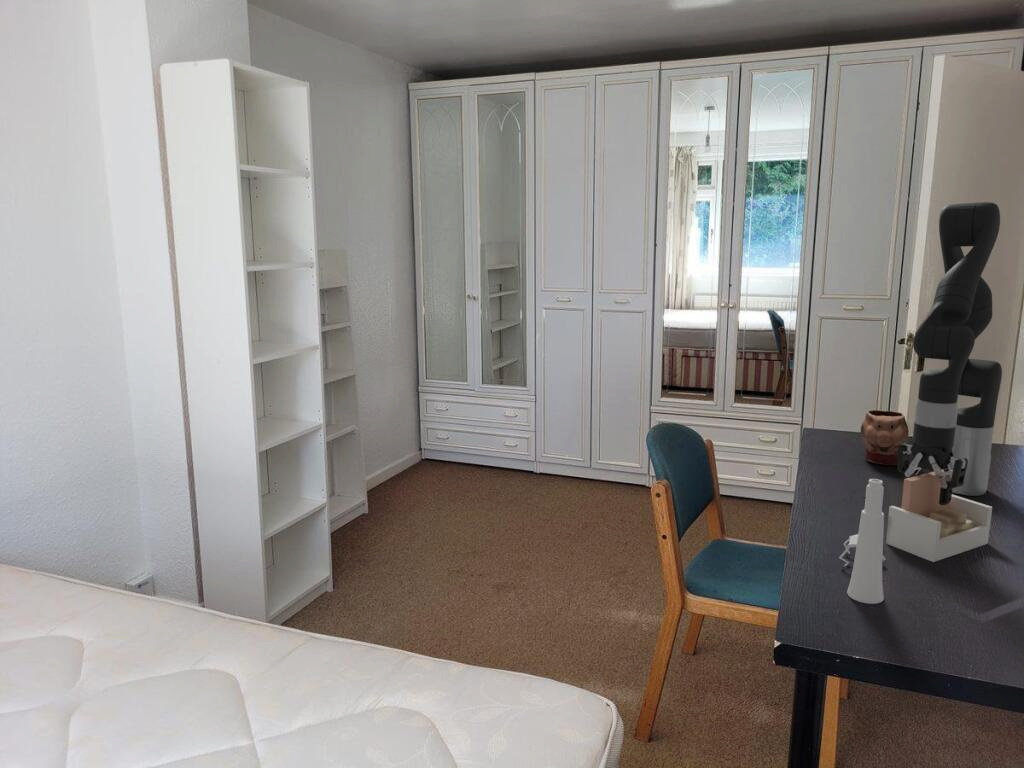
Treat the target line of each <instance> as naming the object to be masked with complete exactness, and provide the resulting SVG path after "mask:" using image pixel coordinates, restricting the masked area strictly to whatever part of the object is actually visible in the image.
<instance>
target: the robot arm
mask: <svg viewBox="0 0 1024 768" xmlns="http://www.w3.org/2000/svg"><path fill="white" fill-rule="evenodd" d="M938 218H939V219H938V234H939V240H940V242H939V243H940V247H941V255H942V262H943V269H944V275H943V277H942V278H941V279H940V280H939V283H938V284H937V287H936V290H935V295H934V299H933V303H932V306H931V308H930V310H929V312H928V314H927V315H926V317H925V318H924V319H923V321H922V322H921V324H920V325H919V327H917V330H916V331H915V333H914V337H913V340H912V341H913V342H912V347H913V350H914V352H915V354H916V355H917V356H919V357H920V358H924V359H929V360H930V359H931V360H944V361H948V362H947V363H948V366H947V367H945V368H940V369H928V370H925V371H923V372H922V373H921V375H920V377H919V384H918V385H919V386H918V395H917V401H916V402H917V403H916V405H915V413H914V420H913V430H912V431H913V432H912V442H913V443H912V444H910V443H908V442H905V443H904V444H900V445H898V461H897V465H896V466H897V467H896V469H897V471H898V472H899V473H902V474H904V476H905V479H906V478H910V477H914V476H918V474H919V472H920V471H921V470H922V469H923V470H928V471H930V472H935V475H936V477H937V478H939V481H940V483H941V486H942V487H941V488H940V497H939V504H940V505H947V504H948V503H949V502H950V501H951V497H952V495H953V494H958V495H965V496H971V497H972V496H973V497H974V496H976V497H977V496H982V495H985V494H986V491H987V490H988V485H989V476H990V470H991V469H990V468H991V460H992V453H991V451H992V444H993V436H994V426H995V421H996V420H995V418H996V414H997V413H996V412H997V406H998V399H999V394H1000V393H999V392H1000V389H1001V383H1002V378H1003V369H1002V365H1001V363H1000V362H998V361H995V360H986V359H978V358H970V356H971V354H972V352H973V349H974V347H975V343H976V339H977V338H979V336H980V335H981V334H982V333H983V332H984V331H985V330H986V328H987V327H988V326H989V325H990V323H991V321H992V319H993V293H992V290H991V287H990V286H989V283H987V281H985V279H984V278H983V277H982V275H983V272H984V270H985V268H986V266H987V264H988V261H989V259H990V257H991V254H992V251H993V249H994V247H995V244H996V243H997V242H996V241H997V239H998V235H999V232H1000V225H1001V212H1000V208H999V205H998V204H996V203H995V202H990V201H989V202H988V201H981V202H965V203H952V204H947V205H945V206H944V207H943V208H942V209H941V211H940V213H939V217H938ZM962 247H972V248H971V249H970V250H969V252H967V254H964V252H963V249H962ZM959 396H966V397H971V398H978V399H979V398H980V401H979V403H977V404H975V405H972V406H967V407H961V408H960V407H959V408H958V397H959ZM911 454H912V456H913V458H914V459H913V460H912V461H911ZM941 470H944V472H942V471H941ZM951 470H953V473H952V472H951ZM951 474H952V476H951Z"/></svg>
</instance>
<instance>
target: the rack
mask: <svg viewBox="0 0 1024 768" xmlns="http://www.w3.org/2000/svg"><path fill="white" fill-rule="evenodd" d="M888 508H889V509H888V517H887V518H888V519H887V530H886V536H885V538H886V539H885V544H886V545H889V546H892V547H894V548H896V549H899V550H902V551H905V552H907V553H910V554H912V555H915V556H917V557H919V558H922V559H925V560H927V561H929V562H932V563H934V562H938V561H941V560H943V559H946V558H950V557H952V556H955V555H958V554H961V553H964V552H967V551H970V550H973V549H976V548H979V547H982V546H985V545H987V544H988V543H989V537H990V528H991V523H992V522H991V520H992V514H993V512H992V511H993V506H991V505H987V504H984V503H981V502H978V501H974V500H972V499H968V498H965V497H962V496H959V495H955V494H952V497H951V501H950V509H952V510H955V511H958V512H961V513H964V514H967V518H966V519H967V520H970V521H973V527H972V529H969V530H966V531H962V532H959V533H956V534H953V535H950V536H947V537H944V538H941V539H940V531H941V522H939V521H936V520H933V519H930V518H927V517H925V516H922V515H919V514H916V513H913V512H910V511H907V510H904V509H901V507H898V506H895V505H891V506H889V507H888Z"/></svg>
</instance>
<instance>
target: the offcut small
mask: <svg viewBox="0 0 1024 768" xmlns="http://www.w3.org/2000/svg"><path fill="white" fill-rule="evenodd" d="M929 518H930V519H933V520H936V521H939V522H941V527H942V528H945V529H951V528H954V527H957V526H960V525H963V524H966V518H967V514H964V513H961V512H958V511H955V510H952V509H949V508H947V509H944V510H940V511H937V512H933V513H930V516H929Z"/></svg>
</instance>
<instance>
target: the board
mask: <svg viewBox="0 0 1024 768" xmlns="http://www.w3.org/2000/svg"><path fill="white" fill-rule="evenodd" d="M941 471H942V472H944V470H941ZM951 472H952V473H953V470H951ZM951 476H952V474H951ZM941 487H942V486H941V483H940V481H939V478H937V477H936V475H935V472H933V471H930V472H927V473H923V474H919V475H918V474H917V475H916V476H914V477H910V478H906V477H905V478H904V480H903V487H902V499H901V506H900V508H901V509H904V510H907V511H910V512H913V513H916V514H919V515H922V516H925V517H927V518H929V516H930V513H933V512H937V511H940V510H944V509H947V508H949V509H950V502H949V503H948V504H947V505H940V504H939V497H940V488H941Z"/></svg>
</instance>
